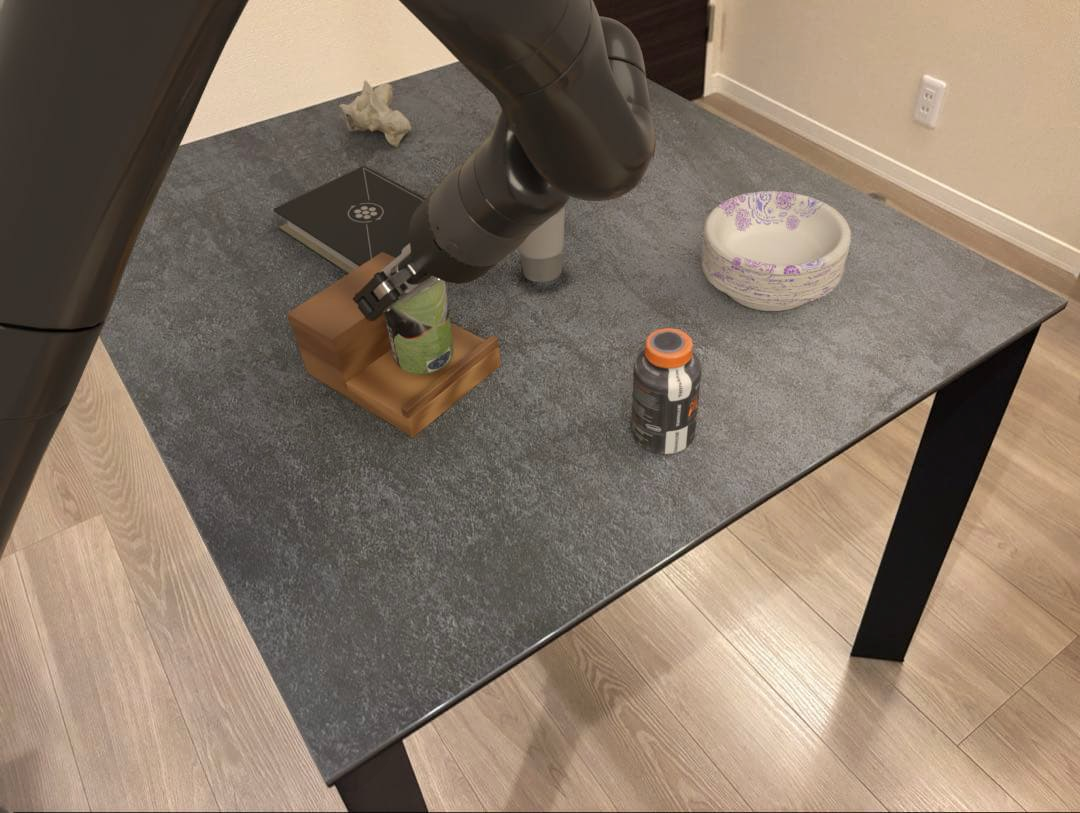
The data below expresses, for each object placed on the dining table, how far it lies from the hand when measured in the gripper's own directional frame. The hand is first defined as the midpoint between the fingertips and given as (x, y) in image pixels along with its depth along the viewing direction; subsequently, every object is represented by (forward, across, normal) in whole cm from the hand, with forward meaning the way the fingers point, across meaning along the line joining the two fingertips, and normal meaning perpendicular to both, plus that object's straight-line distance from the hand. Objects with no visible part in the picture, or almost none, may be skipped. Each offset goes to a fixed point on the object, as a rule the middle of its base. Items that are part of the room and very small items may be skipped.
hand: (398, 289), depth 78 cm
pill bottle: (-10, -8, +26) cm, 29 cm away
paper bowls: (-7, -34, +24) cm, 42 cm away
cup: (+9, -22, +7) cm, 25 cm away
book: (+25, -16, -9) cm, 31 cm away
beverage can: (+5, 0, +8) cm, 9 cm away
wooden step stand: (+9, 0, +6) cm, 11 cm away
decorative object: (+38, -36, -22) cm, 57 cm away
